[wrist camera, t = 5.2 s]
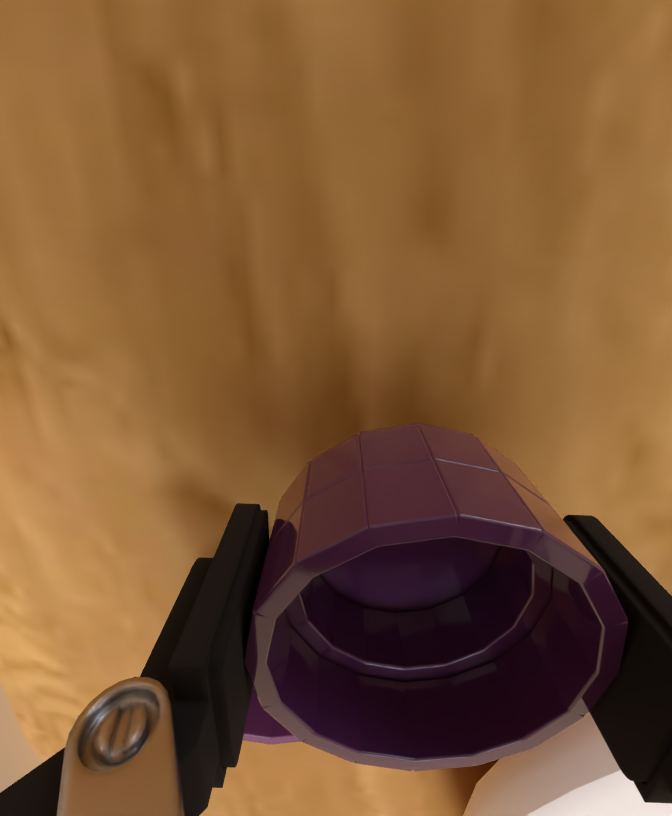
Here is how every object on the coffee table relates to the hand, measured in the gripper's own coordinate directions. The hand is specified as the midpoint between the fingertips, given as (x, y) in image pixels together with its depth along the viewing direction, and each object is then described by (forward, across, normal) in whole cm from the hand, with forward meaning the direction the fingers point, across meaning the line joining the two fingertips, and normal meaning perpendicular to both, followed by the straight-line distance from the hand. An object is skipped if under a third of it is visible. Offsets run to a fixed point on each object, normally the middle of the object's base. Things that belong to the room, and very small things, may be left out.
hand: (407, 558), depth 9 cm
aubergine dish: (+1, 0, 0) cm, 1 cm away
